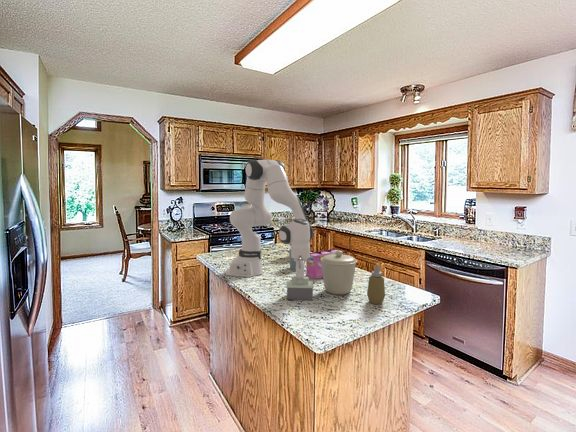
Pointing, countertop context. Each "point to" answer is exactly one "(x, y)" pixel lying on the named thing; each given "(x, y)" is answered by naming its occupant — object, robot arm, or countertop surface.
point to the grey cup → (292, 262)
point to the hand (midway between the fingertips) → (300, 282)
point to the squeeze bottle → (376, 287)
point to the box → (299, 293)
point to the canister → (338, 272)
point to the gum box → (317, 263)
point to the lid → (305, 284)
